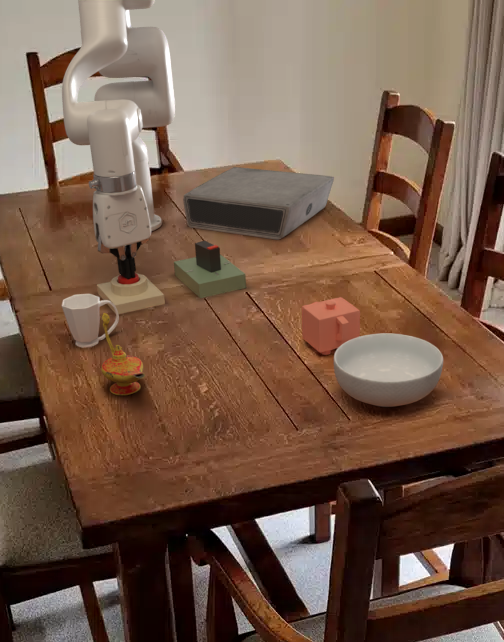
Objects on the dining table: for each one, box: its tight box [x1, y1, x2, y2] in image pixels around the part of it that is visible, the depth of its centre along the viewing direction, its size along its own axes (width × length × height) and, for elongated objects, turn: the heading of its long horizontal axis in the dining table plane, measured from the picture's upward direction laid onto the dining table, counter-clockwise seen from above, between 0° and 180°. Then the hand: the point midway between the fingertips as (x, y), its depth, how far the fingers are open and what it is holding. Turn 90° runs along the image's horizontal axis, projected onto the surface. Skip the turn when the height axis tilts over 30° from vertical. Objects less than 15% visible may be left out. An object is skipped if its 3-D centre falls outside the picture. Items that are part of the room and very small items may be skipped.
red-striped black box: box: [194, 240, 221, 272], centre depth 191 cm, size 6×2×5 cm, turn 36°
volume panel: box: [173, 253, 247, 299], centre depth 193 cm, size 14×10×3 cm
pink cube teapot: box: [301, 296, 361, 356], centre depth 165 cm, size 8×12×8 cm, turn 24°
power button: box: [117, 272, 139, 284], centre depth 186 cm, size 4×4×2 cm
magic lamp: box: [100, 312, 146, 396], centre depth 153 cm, size 7×18×11 cm, turn 25°
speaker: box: [182, 166, 335, 241], centre depth 223 cm, size 24×8×30 cm
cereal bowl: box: [333, 332, 444, 408], centre depth 149 cm, size 17×17×7 cm
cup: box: [61, 293, 120, 348], centre depth 171 cm, size 7×10×8 cm
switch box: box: [96, 272, 166, 315], centre depth 187 cm, size 12×10×4 cm
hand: (128, 276), depth 186 cm, fingers closed
